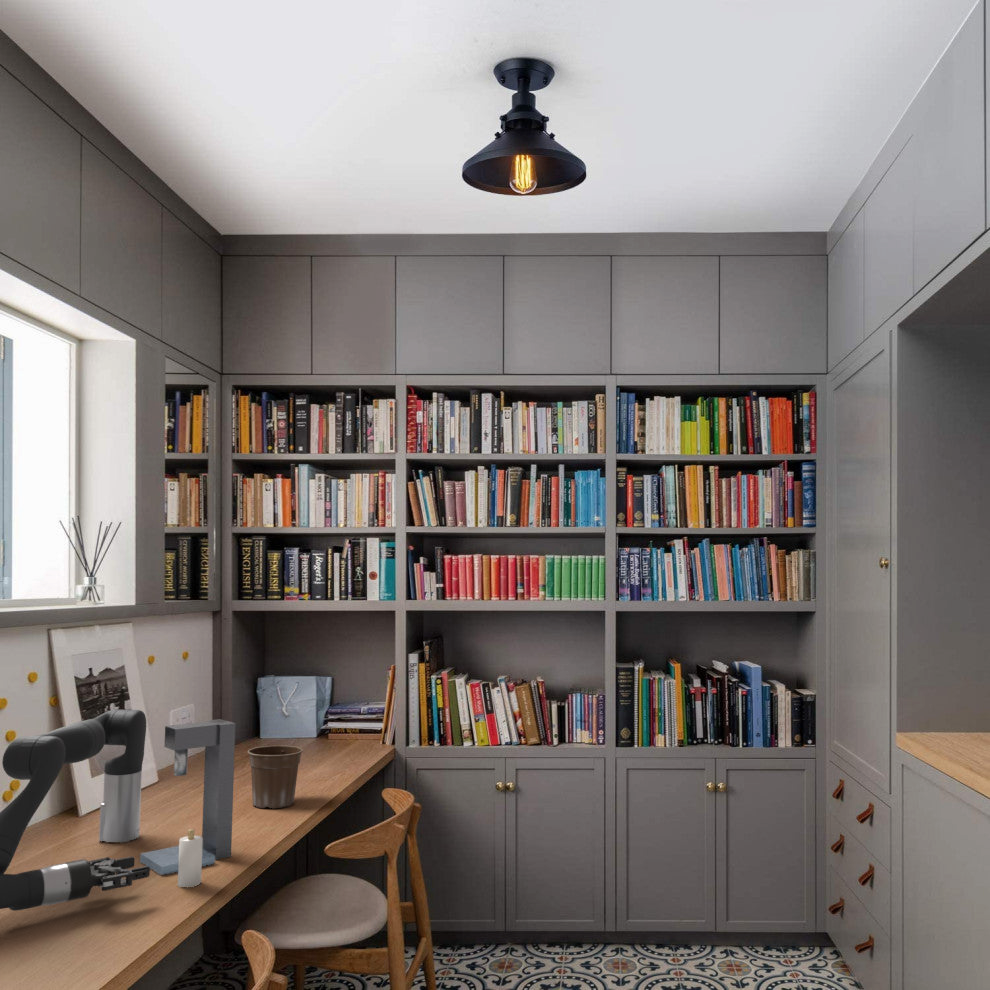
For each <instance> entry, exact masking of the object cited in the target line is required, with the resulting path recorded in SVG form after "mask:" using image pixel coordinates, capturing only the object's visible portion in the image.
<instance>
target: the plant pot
mask: <svg viewBox="0 0 990 990" xmlns="http://www.w3.org/2000/svg"><path fill="white" fill-rule="evenodd" d="M303 751H304V750H303V748H301V747H299V746H292V745H265V746H257V747H253V748H250V749H248V750H247V754H248V755H249V765H250V771H251V790H252V792H251V793H252V805H253V806H254V807H255V806H256V807H255V808H259V809H265V808H269V809H271V808H272V809H282V807H284V808H286V806H287V807H291V806H292V805H293V804H294V803H295V795H296V787H297V778H298V770H299V764H300V762H301V755H302V753H303ZM292 803H293V804H292Z"/></svg>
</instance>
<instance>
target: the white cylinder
mask: <svg viewBox="0 0 990 990" xmlns="http://www.w3.org/2000/svg"><path fill="white" fill-rule="evenodd" d="M202 842H203V838H202V835H195V828H190V829H188V830H187V835H186V836H183V837H180V838H179V843H178V846H179V866H178V872H177V887H178V886H179V888H181V887H187V888H186V889H189V888H188V887H193V888H195V887H194V886H197V885H199V884H200V883H201V884H202ZM201 884H200V885H201ZM200 885H199V886H200ZM197 887H198V886H197Z"/></svg>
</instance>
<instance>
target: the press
mask: <svg viewBox="0 0 990 990" xmlns="http://www.w3.org/2000/svg"><path fill="white" fill-rule="evenodd" d="M235 741H236V722H232V721H230V720H229V721H228V720H225V719H220V718H219V719H212V720H206V721H200V722H199V721H198V722H191V723H190V722H189V723H183V724H182V723H181V724H171V725H165V726H164V746H163V747H164V748H167V749H169V750H172V751H174V762H173V764H174V766H173V776H176V777H178V776H179V777H181V776H182V777H183V776H186V775H187V774H188V758H189V757H188V753H189V749H190V750H191V749H199V748H204V767H203V769H204V772H203V774H204V775H203V797H202V798H203V799H202V801H203V802H202V828H201V829H202V832H201V837H202V838H203V842H202V866H203V867H206V865H208V866H212V865H215V864H216V863H215V861H219V860H222V858H224V859H228V858H231V857H232V842H233V841H232V838H233V836H232V835H233V813H234V812H233V810H234V809H233V808H234V807H233V806H234V805H233V803H234V783H235V782H234V778H235V777H234V775H235V774H234V773H235V744H236V742H235ZM227 857H228V858H227ZM218 859H219V860H218ZM139 863H141V864H142V863H143V864H142V865H144V864H145V865H146V866H148V867H149V868H151V869H150V870H152V869H153V870H154V871H153V870H152V871H153V872H155V871H156V872H157V873H156V872H155V873H156V874H158V873H159V874H158V875H160V874H161V875H163V876H165V875H164V874H167V875H170V874H169V873H172V874H175V873H174V872H176V873H178V866H179V845H176V846H171V847H167V848H162V849H156V850H152V851H147V852H141V853H139ZM214 863H215V864H214ZM211 864H212V865H211ZM145 865H144V866H145ZM161 875H160V876H161Z"/></svg>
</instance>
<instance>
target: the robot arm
mask: <svg viewBox="0 0 990 990" xmlns="http://www.w3.org/2000/svg"><path fill="white" fill-rule="evenodd" d="M146 734H147V718H146V714H145V713H144V711H142V710H141V709H111V710H107V711H106V712H104V713H102V714H100V715H98V716H96V717H94V718H90V719H86V720H80V721H77V722H74V723H71V724H68V725H66V726H62V727H59V728H57V729H53V730H51V731H48V732H46V733H42V734H36V735H30V736H29V735H27V736H26V735H25V736H20V737H18V738H16V739H14V740H13V741H12V742H10V744H9V745H8V746H7V747H6V748H5V750H4V753H3V756H2V761H1V762H2V763H1V764H2V769H3V771H4V773H5V774H6V775H7V776H8V777H10V778H11V779H14V780H20V781H23V780H24V781H25V780H27V781H28V780H29V781H28V783H27V784H26V786H25V787H24V788H23V790H22V791H21V792H20V793H19V794H18V795H17V797H15V798H14V799H13V800H12V801H11V802H10V803H9V804H7V806H6V807H4V808H3V809H2V811H0V910H4V909H9V910H10V911H14V912H15V911H16V912H17V911H24V910H27V909H31V908H37V907H41V906H51V905H56V904H61V903H66V902H69V901H70V902H71V901H75V900H79V899H85V898H86V897H88V896H89V895H90V893H91V890H92V888H93V887H97V888H101V891H104V892H105V891H110V890H115V889H119V888H124V887H125V888H126V887H130V886H133V881H137V880H142V879H146V878H149V876H150V870H151V869H150V868H149V867H148V866H145V865H144V866H141V867H136V868H135V860H136V859H135V857H133V856H127V857H123V858H118V859H117V858H111V857H108V856H106V857H101V858H99V859H94V860H89V861H88V860H87V859H85V858H84V859H79V860H73V861H68V862H62V863H58V864H52V865H48V866H45V867H42V868H39V869H34V870H30V871H29V870H27V871H23V872H18V873H15V874H11V873H6V871H7V870H8V868H9V867H10V865H11V862H12V860H13V858H14V856H15V853H16V852H17V849H18V846H19V844H20V842H21V840H22V837H23V835H24V833H25V831H26V829H27V828H28V825H29V823H30V822H31V820H32V818H33V816H34V815H35V813H36V812H37V810H38V808H39V807H40V806H41V804H42V802H43V801H44V799H45V798H46V796H47V794H48V793H49V792H50V789H51V788H52V787H53V785H54V783H55V781H56V780H57V778H58V776H59V775H60V773H61V771H62V769H63V766H64V765H70V764H74V763H75V764H76V763H80V762H83V761H86V760H88V759H90V758H94V757H95V756H96V755H98V754H99V753H100V752H101V750H103V748H104V746H125V749H124V753H123V754H121V755H120V756H116V757H113V758H110V759H108V760H107V761H106V762H104V763H105V764H104V771H103V772H104V774H103V776H104V777H103V797H102V798H103V799H102V802H101V804H100V806H99V807H100V809H99V810H100V812H99V828H98V829H99V831H98V842H99V841H101V842H102V841H106V842H105V843H108V842H120V843H127V842H131V841H130V840H132V841H134V839H135V840H137V839H139V837H140V831H141V827H140V825H141V824H140V823H141V801H142V795H141V794H142V778H143V777H142V776H143V775H142V774H143V761H144V756H145V747H146V746H145V745H146V736H147V735H146ZM136 838H137V839H136Z"/></svg>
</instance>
